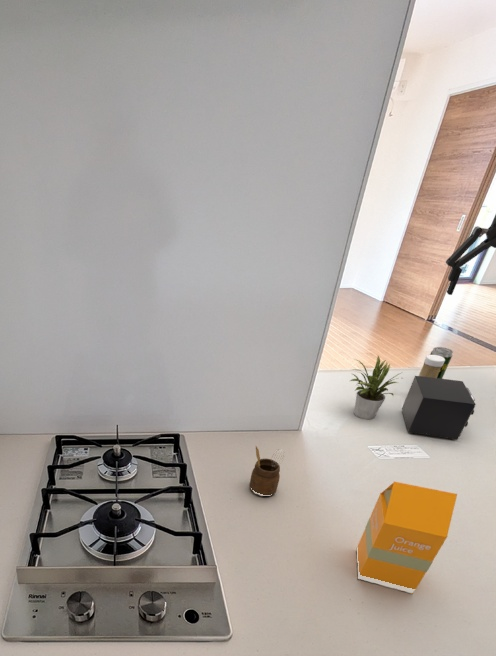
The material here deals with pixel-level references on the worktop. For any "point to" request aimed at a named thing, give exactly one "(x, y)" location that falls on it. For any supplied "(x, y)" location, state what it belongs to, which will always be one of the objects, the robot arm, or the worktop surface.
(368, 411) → the house plant
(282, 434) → the worktop surface
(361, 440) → the worktop surface
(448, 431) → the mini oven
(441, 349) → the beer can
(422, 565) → the orange juice
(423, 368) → the sprinkles bottle
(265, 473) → the utensil holder
